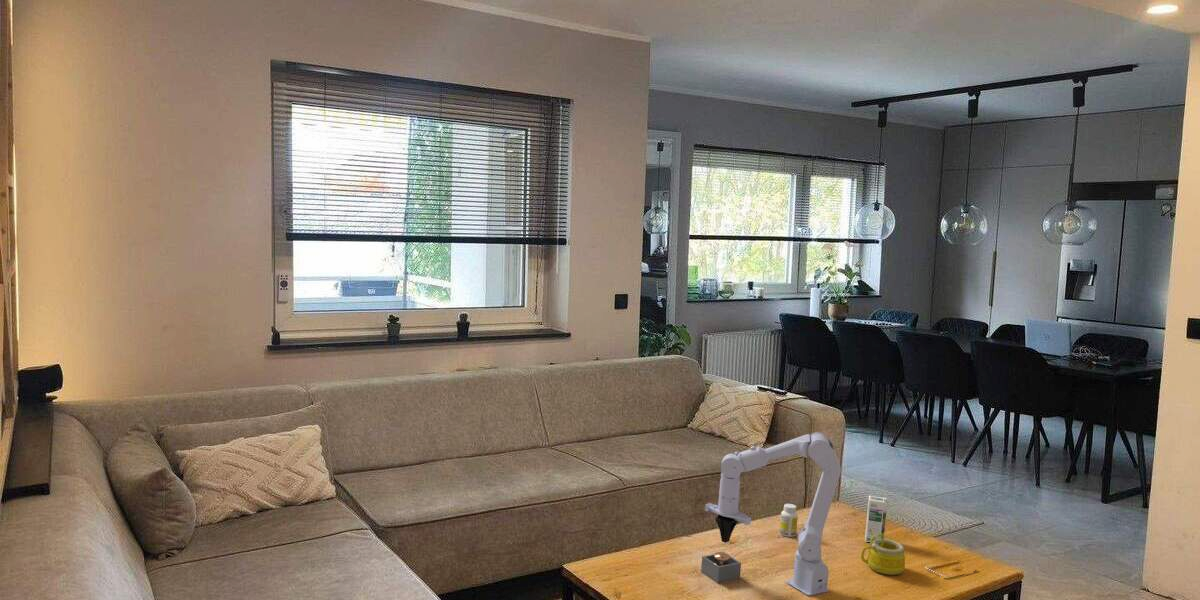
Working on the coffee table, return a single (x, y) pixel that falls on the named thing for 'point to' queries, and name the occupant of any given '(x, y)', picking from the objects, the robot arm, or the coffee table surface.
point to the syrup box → (876, 517)
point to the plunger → (721, 557)
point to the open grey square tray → (720, 569)
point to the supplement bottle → (788, 521)
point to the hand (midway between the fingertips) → (725, 541)
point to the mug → (885, 556)
